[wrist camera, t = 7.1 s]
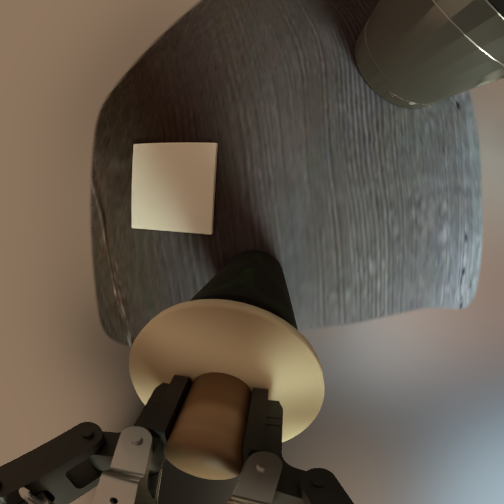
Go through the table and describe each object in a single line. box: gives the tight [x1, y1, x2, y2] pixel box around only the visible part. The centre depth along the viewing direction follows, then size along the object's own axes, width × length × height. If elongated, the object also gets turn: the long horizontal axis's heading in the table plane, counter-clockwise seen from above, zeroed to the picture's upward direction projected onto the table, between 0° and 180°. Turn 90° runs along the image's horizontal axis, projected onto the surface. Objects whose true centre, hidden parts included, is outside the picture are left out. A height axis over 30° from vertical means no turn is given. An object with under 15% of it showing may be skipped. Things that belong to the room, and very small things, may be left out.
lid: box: [129, 299, 324, 480], centre depth 11 cm, size 10×10×5 cm
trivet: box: [132, 142, 218, 235], centre depth 24 cm, size 8×8×1 cm
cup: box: [190, 251, 298, 330], centre depth 21 cm, size 8×8×12 cm
